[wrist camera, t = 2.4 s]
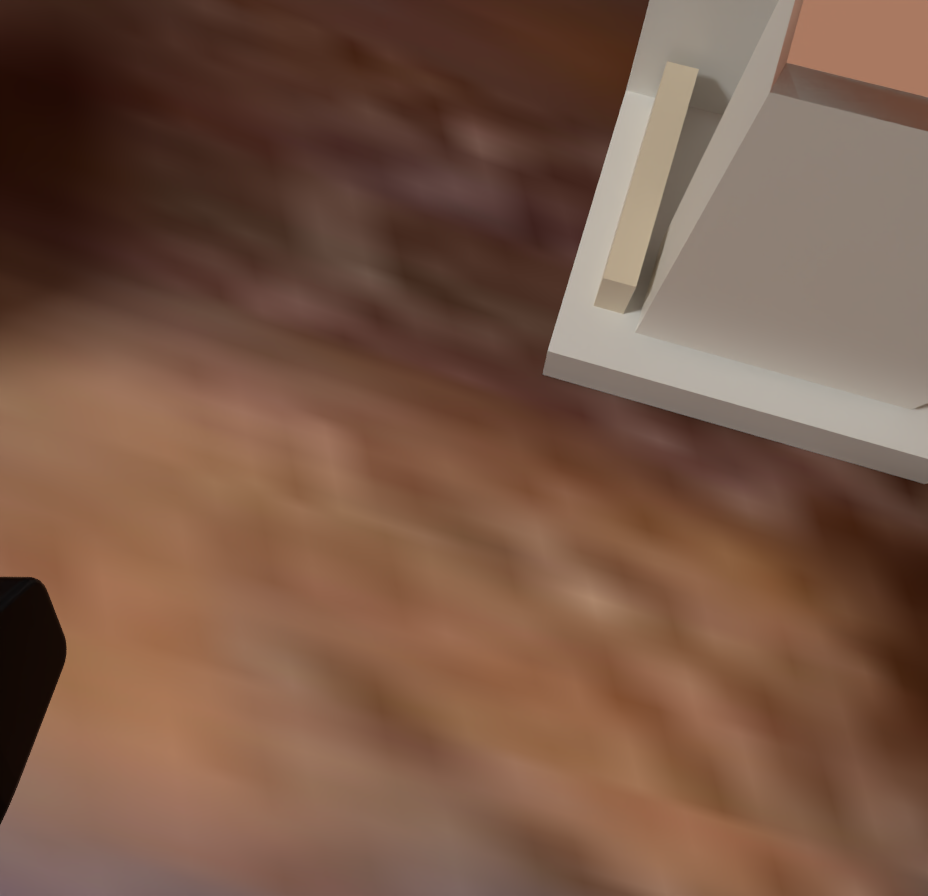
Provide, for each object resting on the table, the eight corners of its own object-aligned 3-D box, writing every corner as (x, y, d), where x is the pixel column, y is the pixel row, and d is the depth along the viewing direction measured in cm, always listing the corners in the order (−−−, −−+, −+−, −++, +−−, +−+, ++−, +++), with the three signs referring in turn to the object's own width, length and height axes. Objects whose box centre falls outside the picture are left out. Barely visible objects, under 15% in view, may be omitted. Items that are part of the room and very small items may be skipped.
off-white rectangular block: (910, 409, 20) (1402, 213, 9) (634, 332, 21) (785, 62, 10) (932, 315, 20) (1432, 19, 9) (660, 242, 21) (834, -116, 10)
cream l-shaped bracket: (924, 484, 22) (1493, 363, 10) (542, 374, 23) (594, 131, 10) (989, 197, 24) (1576, -253, 11) (624, 104, 25) (759, -412, 12)
